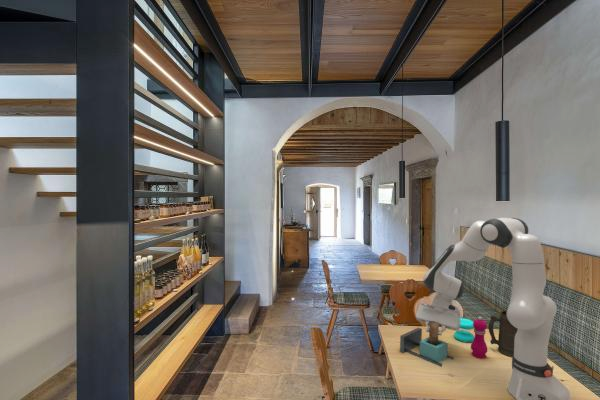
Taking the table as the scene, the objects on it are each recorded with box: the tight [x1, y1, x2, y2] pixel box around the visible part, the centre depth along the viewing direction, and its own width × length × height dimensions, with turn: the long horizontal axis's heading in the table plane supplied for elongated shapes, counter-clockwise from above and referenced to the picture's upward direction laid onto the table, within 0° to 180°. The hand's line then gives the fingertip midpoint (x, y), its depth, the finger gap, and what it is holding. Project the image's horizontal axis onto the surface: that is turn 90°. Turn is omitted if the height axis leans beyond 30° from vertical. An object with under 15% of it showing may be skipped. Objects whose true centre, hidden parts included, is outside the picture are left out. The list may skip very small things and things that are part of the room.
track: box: [399, 327, 454, 367], centre depth 170 cm, size 20×16×9 cm
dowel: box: [428, 321, 440, 346], centre depth 168 cm, size 4×4×12 cm
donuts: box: [453, 317, 475, 343], centre depth 191 cm, size 10×10×10 cm
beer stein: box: [487, 310, 518, 358], centre depth 176 cm, size 15×11×20 cm
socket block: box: [419, 336, 448, 363], centre depth 168 cm, size 9×9×7 cm
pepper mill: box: [470, 316, 488, 359], centre depth 170 cm, size 7×7×20 cm
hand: (433, 333), depth 167 cm, fingers closed on dowel, 4 cm apart
